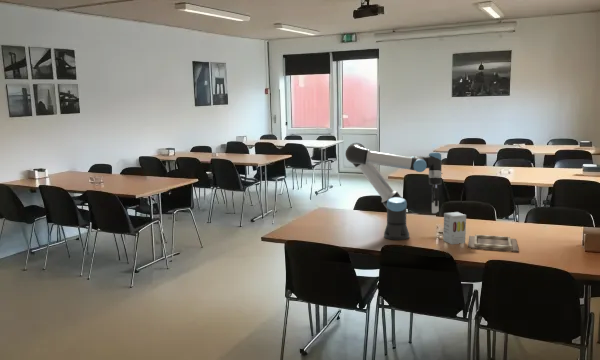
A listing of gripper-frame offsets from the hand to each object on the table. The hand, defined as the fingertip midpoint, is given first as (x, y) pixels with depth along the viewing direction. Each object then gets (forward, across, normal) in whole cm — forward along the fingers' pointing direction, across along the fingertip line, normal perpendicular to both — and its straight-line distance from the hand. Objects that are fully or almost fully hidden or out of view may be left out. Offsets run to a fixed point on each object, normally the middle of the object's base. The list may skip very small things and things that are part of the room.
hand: (435, 212), depth 310 cm
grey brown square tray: (+18, -12, -31) cm, 38 cm away
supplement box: (+18, -8, -10) cm, 22 cm away
